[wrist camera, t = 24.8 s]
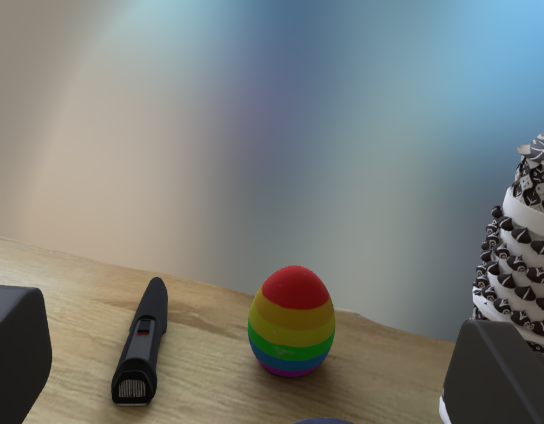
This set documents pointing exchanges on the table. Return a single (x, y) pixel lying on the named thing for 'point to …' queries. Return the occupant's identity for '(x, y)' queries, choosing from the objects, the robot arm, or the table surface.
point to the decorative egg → (291, 322)
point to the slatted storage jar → (322, 421)
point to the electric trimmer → (142, 349)
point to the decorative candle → (515, 256)
